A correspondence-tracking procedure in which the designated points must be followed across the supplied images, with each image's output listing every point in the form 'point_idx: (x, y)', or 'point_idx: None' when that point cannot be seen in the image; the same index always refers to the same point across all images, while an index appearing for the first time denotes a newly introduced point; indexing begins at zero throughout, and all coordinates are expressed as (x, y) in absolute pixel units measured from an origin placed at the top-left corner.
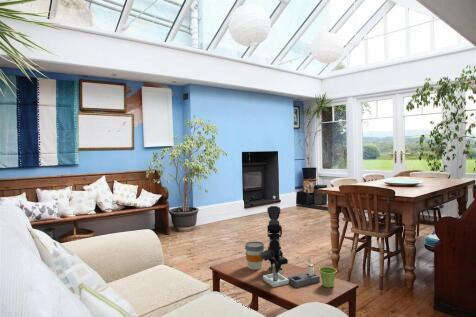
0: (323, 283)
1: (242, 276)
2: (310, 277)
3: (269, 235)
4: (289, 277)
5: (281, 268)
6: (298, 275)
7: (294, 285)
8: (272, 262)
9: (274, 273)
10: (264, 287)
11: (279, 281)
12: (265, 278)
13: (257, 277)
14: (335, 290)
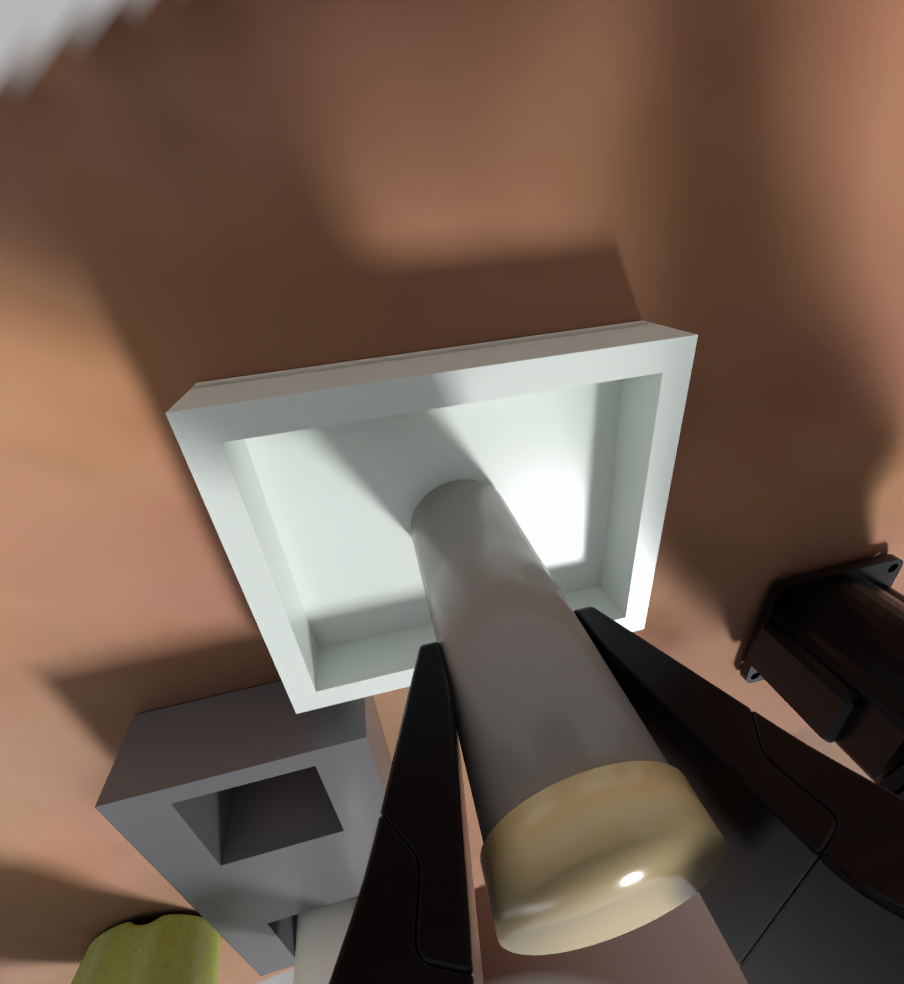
0: (112, 963)
1: None
2: (252, 925)
3: None
4: (327, 749)
5: (756, 675)
6: (364, 839)
7: (183, 711)
8: (793, 883)
9: (455, 597)
10: (217, 149)
11: (241, 568)
12: (564, 346)
13: (782, 242)
14: (5, 975)
